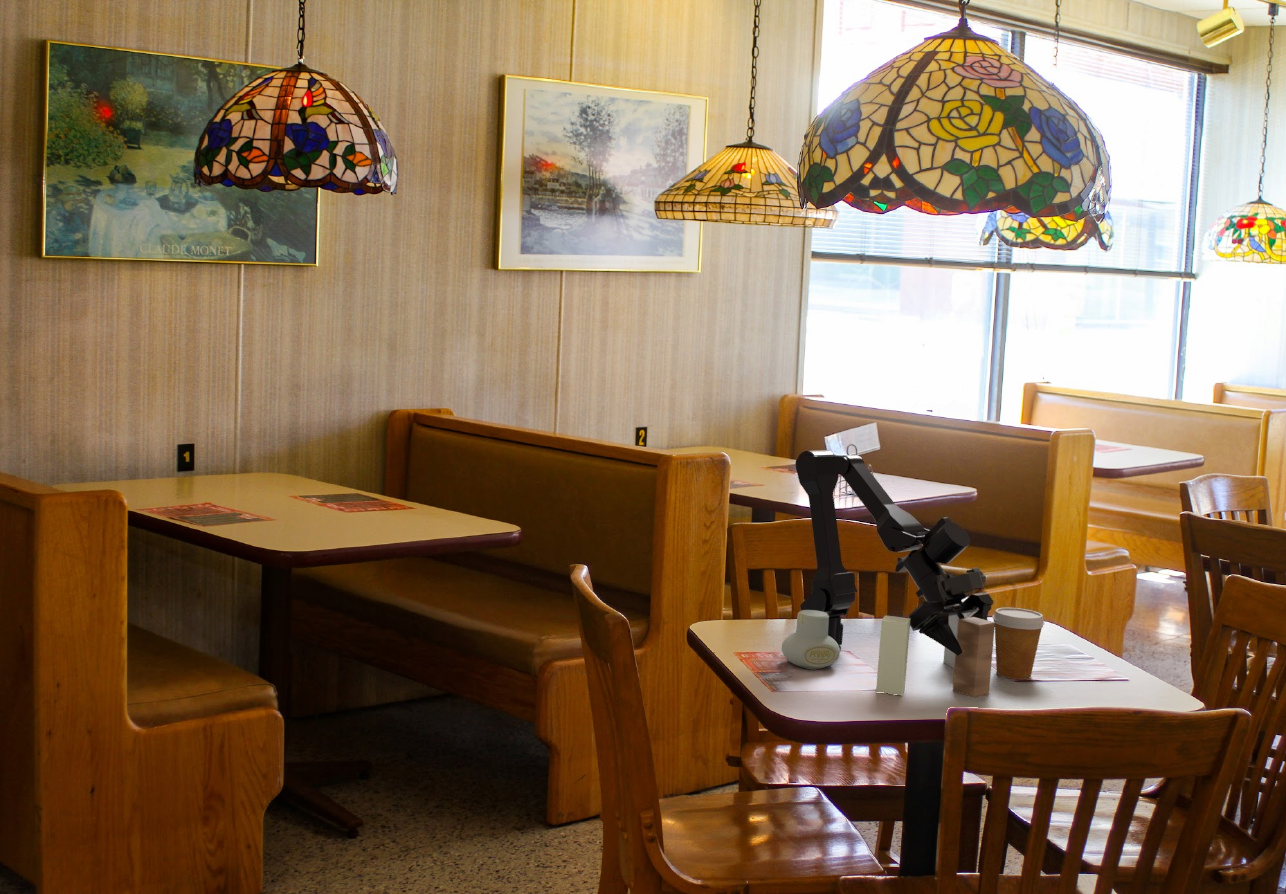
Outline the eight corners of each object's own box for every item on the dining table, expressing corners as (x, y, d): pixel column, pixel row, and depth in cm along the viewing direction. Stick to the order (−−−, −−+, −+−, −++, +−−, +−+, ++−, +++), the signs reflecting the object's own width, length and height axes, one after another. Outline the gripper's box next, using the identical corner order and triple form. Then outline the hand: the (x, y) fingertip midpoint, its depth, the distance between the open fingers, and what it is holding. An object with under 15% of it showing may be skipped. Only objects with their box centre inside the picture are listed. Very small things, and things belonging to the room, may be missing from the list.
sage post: (875, 692, 223) (881, 620, 222) (879, 686, 227) (884, 615, 226) (901, 696, 222) (907, 623, 220) (904, 689, 226) (910, 618, 225)
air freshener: (826, 658, 244) (830, 607, 244) (845, 670, 237) (849, 618, 236) (774, 659, 241) (777, 608, 240) (791, 672, 233) (795, 618, 232)
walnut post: (952, 690, 227) (958, 619, 226) (967, 687, 230) (973, 616, 229) (973, 697, 224) (979, 625, 223) (988, 693, 227) (995, 622, 225)
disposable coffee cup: (1040, 672, 243) (1045, 611, 242) (1038, 684, 234) (1044, 621, 233) (989, 665, 246) (994, 604, 245) (985, 677, 237) (991, 614, 236)
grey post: (953, 668, 242) (959, 602, 241) (943, 662, 247) (948, 596, 245) (975, 668, 243) (981, 602, 242) (964, 662, 248) (970, 596, 246)
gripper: (926, 557, 222) (973, 632, 215) (989, 549, 234) (1036, 620, 227) (887, 592, 229) (932, 666, 222) (950, 583, 241) (995, 653, 234)
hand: (976, 650), depth 226 cm, fingers open, 9 cm apart
